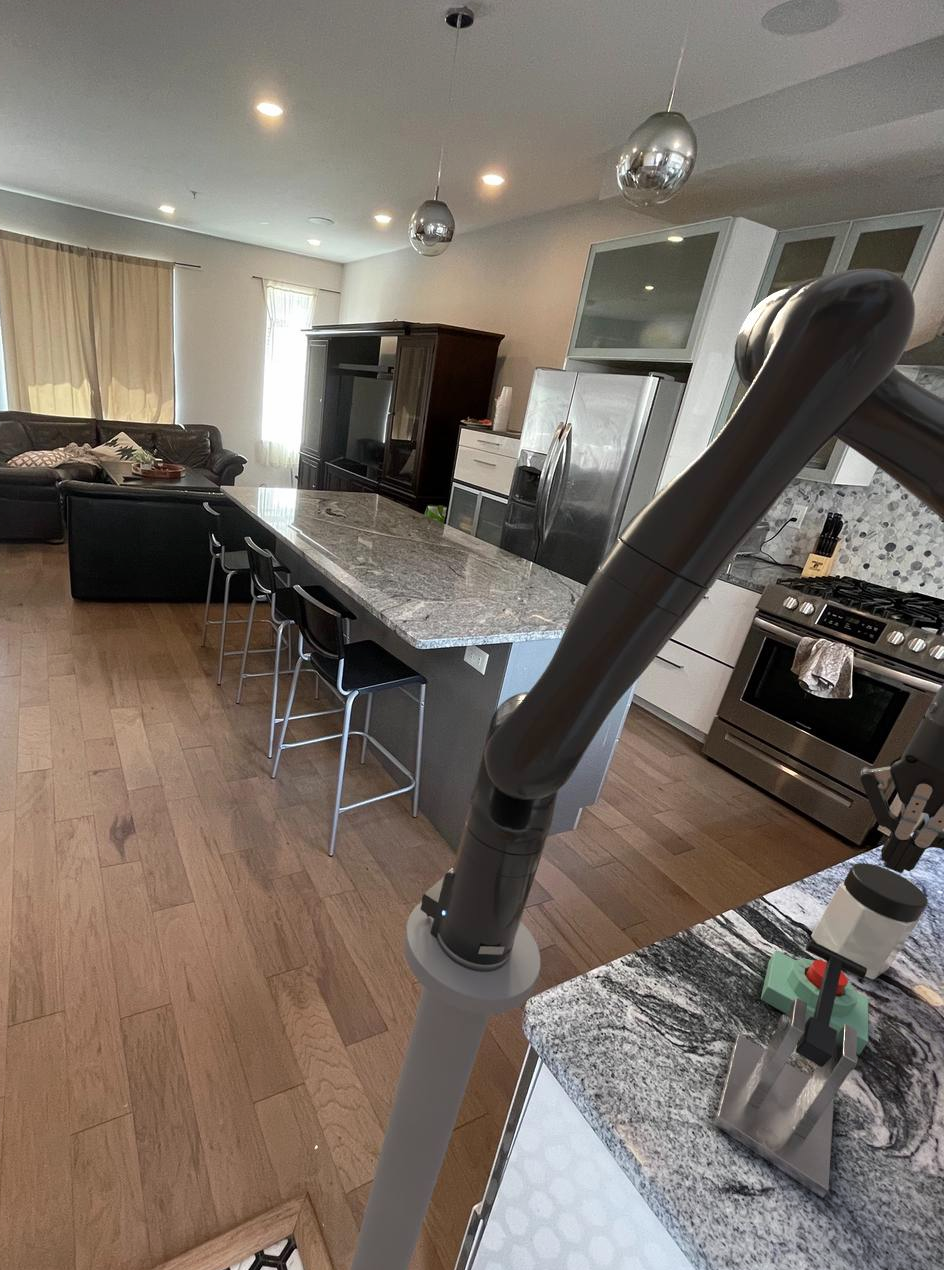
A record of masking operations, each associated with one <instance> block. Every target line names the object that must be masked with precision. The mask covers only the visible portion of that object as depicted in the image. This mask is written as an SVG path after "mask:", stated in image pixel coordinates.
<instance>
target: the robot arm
mask: <svg viewBox="0 0 944 1270" xmlns="http://www.w3.org/2000/svg"><path fill="white" fill-rule="evenodd" d="M915 316H916V304H915V299H914V294H913V292H912V289H911V288H910V286H909V284H908V282H906V281H905V279H904V278H902V277H901V276H900V275H898V274H896V273H894V272H892V271H889V270H886V269H880V268H856V269H855V268H854V269H847V270H842V271H838V272H834V273H829V274H825V275H821V276H818V277H814V278H809V279H806V280H803V281H799V282H796V283H793V284H791V285H788V286H785V287H783V288H781V289H779V290H777V291H776V292H773V293H772V294H770V295H768V297H766V298H764V299H763V300H762V301H761V302H759V303H758V304H757V305H756V307H755V308H753V309H752V311H750V313H749V314H748V315H747V317H746V318H745V320H744V321H743V323H742V325H741V327H740V330H739V331H738V334H737V337H736V341H735V344H734V352H733V355H734V356H733V358H734V367H735V370H736V373H737V376H738V378H739V380H740V382H741V383H742V384H743V386H744V388H745V389H746V390H747V391H746V393H745V394H744V396H743V397H742V398H741V400H740V402H739V403H738V404H737V406H736V408H735V410H734V411H733V413H732V414H731V416H730V417H729V419H728V420H727V421H726V422H725V424H724V425H723V427H722V428H721V430H720V431H719V432H718V434H717V435H716V436H715V438H714V439H713V440H712V441H711V442H710V444H709V445H708V446H707V447H706V448H705V449H704V450H703V451H702V452H701V453H700V454H698V456H697V457H696V458H695V459H694V460H693V461H692V462H690V463H689V464H688V465H687V466H686V467H685V468H684V469H682V471H680V473H678V474H677V475H675V477H674V478H672V479H671V480H670V481H669V482H668V483H666V485H665V486H664V487H662V488H661V489H660V490H659V491H658V492H656V494H655V495H654V496H653V497H652V498H651V499H649V500H648V502H646V503H645V504H644V505H643V506H642V507H641V508H640V509H639V510H638V511H637V512H636V514H635V515H633V516H632V517H631V519H630V520H629V521H628V523H627V524H626V525H625V526H624V527H623V529H622V530H621V532H620V533H619V534H618V537H617V538H616V539H615V540H614V542H613V543H612V545H611V547H610V548H609V550H608V551H607V552H606V554H605V555H604V557H603V558H602V559H601V561H600V563H599V565H598V566H597V568H596V569H595V570H594V572H593V574H592V576H591V578H590V579H589V580H588V583H587V584H586V586H585V589H584V590H583V592H582V594H581V596H580V598H579V599H578V602H577V604H576V606H575V607H574V609H573V612H572V614H571V616H570V618H569V621H568V623H567V625H566V627H565V629H564V632H563V634H562V637H561V638H560V641H559V643H558V644H557V645H558V646H557V648H556V650H555V652H554V654H553V655H552V658H551V660H550V661H549V663H548V665H547V667H546V668H545V669H544V670H543V672H542V674H541V675H540V677H539V678H538V680H537V681H536V683H535V684H534V685H533V686H532V688H531V689H530V690H529V691H526V692H520V693H517V694H514V695H512V696H510V697H508V698H507V699H505V700H504V701H503V702H501V704H499V706H497V708H496V709H495V711H494V713H493V715H492V717H491V720H490V722H489V726H488V730H487V735H486V738H485V741H484V746H483V751H482V754H481V758H480V761H479V766H478V769H477V772H476V777H475V780H474V785H473V788H472V792H471V795H470V799H469V803H468V807H467V813H466V817H465V821H464V825H463V829H462V832H461V836H460V840H459V844H458V848H457V852H456V856H455V859H454V863H453V866H452V867H451V868H450V869H448V870H447V871H446V872H445V874H444V875H443V876H442V877H441V878H439V880H438V881H436V883H434V884H433V886H431V887H430V888H429V889H428V890H427V891H426V892H425V893H423V895H422V897H421V902H422V905H421V909H420V910H422V911H423V912H425V913H426V914H427V917H430V916H431V917H432V918H434V920H433V924H432V928H431V932H430V933H431V935H433V936H434V937H435V938H437V941H438V944H439V946H440V947H441V949H442V950H443V952H444V953H445V954H446V955H447V956H448V957H449V958H450V959H451V960H453V961H454V962H455V963H457V964H459V965H460V966H462V967H465V968H467V969H470V970H474V971H480V972H489V971H495V970H498V969H500V968H501V967H503V966H504V965H505V964H506V963H507V962H508V960H509V958H510V955H511V952H512V947H513V944H514V940H515V937H516V934H517V931H518V928H519V924H520V921H521V922H522V918H523V915H524V911H525V908H526V906H527V903H528V899H529V897H530V893H531V890H532V887H533V884H534V881H535V877H536V874H537V871H538V868H539V865H540V861H541V858H542V855H543V852H544V849H545V846H546V843H547V840H548V837H549V835H550V831H551V827H552V822H553V817H554V812H555V807H556V802H557V797H558V795H559V790H560V789H562V788H563V786H565V785H566V783H567V782H568V781H569V780H570V779H571V777H572V775H573V774H574V772H575V771H576V769H577V767H578V765H579V764H580V762H581V760H582V758H583V757H584V755H585V754H586V753H587V750H588V749H589V747H590V745H591V744H592V742H593V740H594V739H595V737H596V736H597V734H598V732H599V731H600V729H601V727H602V726H603V724H604V722H605V721H606V719H607V718H608V716H609V715H610V713H611V712H612V711H613V709H614V708H615V706H617V704H618V702H619V701H620V700H621V699H622V698H623V696H624V695H626V693H627V692H628V691H629V689H630V688H631V687H632V686H633V685H634V684H635V683H636V681H638V679H639V678H640V677H641V675H642V674H643V673H644V672H645V671H646V670H647V668H648V667H649V666H650V665H651V664H652V662H653V661H654V660H655V658H656V657H657V656H658V655H659V654H660V652H661V651H662V650H663V649H664V647H665V646H666V645H667V643H668V642H669V641H670V640H671V639H672V637H673V636H674V635H675V633H677V631H678V630H679V629H680V628H681V627H682V626H683V624H684V623H685V622H686V621H687V620H688V618H689V617H690V616H691V614H692V613H693V612H694V610H695V609H696V608H697V607H698V606H699V604H700V603H701V602H702V600H704V598H705V596H706V595H707V594H708V592H710V589H711V588H712V587H713V586H714V584H715V583H716V581H717V580H718V579H719V577H720V576H721V574H722V573H723V571H724V570H725V569H726V567H728V565H729V564H730V562H731V561H732V559H733V558H734V557H735V556H736V554H737V553H738V552H739V551H740V549H741V548H742V547H743V545H744V544H745V543H746V542H747V541H748V539H749V538H750V537H751V536H752V534H753V533H754V532H755V530H756V529H757V528H758V527H759V525H760V524H761V523H762V521H764V519H765V518H766V516H767V515H768V514H769V512H770V511H771V510H772V508H773V507H775V504H776V503H777V501H778V500H779V499H780V498H781V496H782V495H783V494H784V492H786V490H788V488H789V486H790V485H791V484H792V483H793V482H794V481H795V479H796V478H797V477H798V476H799V475H800V474H801V472H802V471H803V470H804V469H805V468H806V467H807V466H808V464H809V463H810V462H811V461H812V460H813V459H814V458H815V457H816V456H817V455H818V454H819V453H820V452H821V450H822V449H823V448H824V447H825V446H826V445H827V444H828V443H829V442H830V441H831V439H832V438H835V439H837V440H839V441H840V442H842V443H843V444H845V445H846V446H848V447H849V448H851V449H852V450H854V451H855V452H856V453H858V454H860V456H862V457H864V458H865V459H866V460H867V461H868V462H870V463H872V464H873V465H874V466H876V467H877V468H878V469H879V470H881V471H882V472H884V473H885V474H886V475H887V476H888V477H890V479H892V480H894V481H895V482H896V483H897V484H899V486H901V487H902V488H904V489H905V490H906V491H907V492H908V493H910V494H911V495H912V496H913V497H914V498H916V499H917V500H918V501H919V502H920V503H922V504H923V505H924V506H925V507H927V508H928V509H929V511H932V512H933V513H934V514H935V515H936V516H938V517H939V518H940V519H941V520H942V521H944V398H943V397H941V396H939V395H937V394H936V393H933V392H932V391H930V390H928V389H927V388H925V387H923V386H921V385H920V384H919V383H917V382H915V381H913V380H912V379H910V378H909V377H908V376H906V375H904V374H903V373H902V372H901V371H899V370H898V369H897V368H895V367H896V365H897V364H898V362H899V361H900V359H901V358H902V356H903V354H904V352H905V350H906V348H907V346H908V344H909V341H910V339H911V336H912V333H913V329H914V324H915V318H916V317H915ZM859 777H860V783H861V785H862V787H863V789H864V792H865V795H866V797H867V800H868V801H869V805H870V807H871V809H872V812H873V814H874V817H875V819H876V822H877V824H878V825H879V826H881V827H883V828H886V829H887V830H889V831H890V834H889V836H888V837H887V839H886V841H885V843H884V844H883V846H882V847H881V850H880V851H881V853H880V854H881V861H883V862H884V868H885V869H888V870H890V871H892V872H895V873H897V874H903V872H904V871H907V872H910V871H913V870H914V869H915V867H916V866H917V865H918V862H919V861H920V859H921V858H922V857H923V854H924V853H925V851H926V850H927V849H930V848H933V849H941V850H942V851H944V683H942V684H941V686H940V687H939V689H938V691H937V692H936V693H935V696H934V698H933V699H932V701H931V703H930V705H929V706H928V708H927V711H926V712H925V714H924V716H923V717H922V719H921V721H920V723H919V725H918V727H917V729H916V730H915V732H914V734H913V736H912V738H911V739H910V741H909V743H908V745H907V746H906V748H905V750H904V751H903V753H902V754H901V755H900V756H898V757H897V758H895V759H893V760H892V761H891V762H890V764H889V766H883V767H875V768H873V767H872V766H863V767H862V768H861V769H860V776H859ZM889 779H892V781H893V784H894V787H895V791H896V793H897V795H898V796H897V797H898V798H899V800H900V802H901V806H900V809H899V812H898V814H897V815H895V814H894V813H893V812H892V811H891V808H890V806H889V802H888V800H887V798H886V796H885V793H884V791H883V790H885V789H887V788H888V786H889V785H888V782H889ZM922 814H923V817H922V819H921V820H920V818H921V816H922ZM919 820H920V821H919ZM917 823H918V824H917ZM916 824H917V825H916ZM915 826H916V827H915ZM912 833H913V834H912Z"/></svg>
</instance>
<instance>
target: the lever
mask: <svg viewBox="0 0 944 1270" xmlns="http://www.w3.org/2000/svg"><path fill="white" fill-rule="evenodd" d="M805 951H806V952H808V953H810V954H812V955H814V956H816V957H817V958H820V959H821V960H823V961H825V962H827V963H826V967H825V971H824V975H823V979H822V984H821V988H820V992H819V996H818V1000H817V1004H816V1008H815V1012H814V1017H810V1018H809V1019H808V1020H807V1021H806V1023H805V1028H804V1034H803V1035H802V1037H801V1039H800V1040H799V1042H798V1044H797V1045H796V1047H795V1053H796V1054H797V1055H800V1056H802V1057H803V1058H805V1059H806V1060H808V1061H810V1062H812V1063H813V1064H815V1065H817V1066H818V1065H819V1066H820V1067H823V1066H824V1065H825V1064H826V1063H827V1062H828V1061H829V1060H830V1058H831V1057H832V1056H833V1051H834V1046H835V1041H836V1037H837V1030H835V1029H833V1028H831V1027H829V1023H830V1019H831V1014H832V1010H833V1005H834V1001H835V996H836V992H837V987H838V983H839V978H840V974H841V971H842V970H843V971H845V972H847V973H849V974H852V975H853V976H855V977H857V978H860V979H861V980H862V979H865V978H866V977H865V975H866V972H867V968H866V967H864V966H862V965H860V964H858V963H856V962H854V961H852V960H850V959H848V958H846V957H844V956H842V955H840V954H838V953H836V952H834V951H832V950H830V949H828V948H826V947H824V946H822V945H820V944H818V943H816V942H815V941H814V940H813V939H809V940H808V941H807V944H806V945H805Z"/></svg>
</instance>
